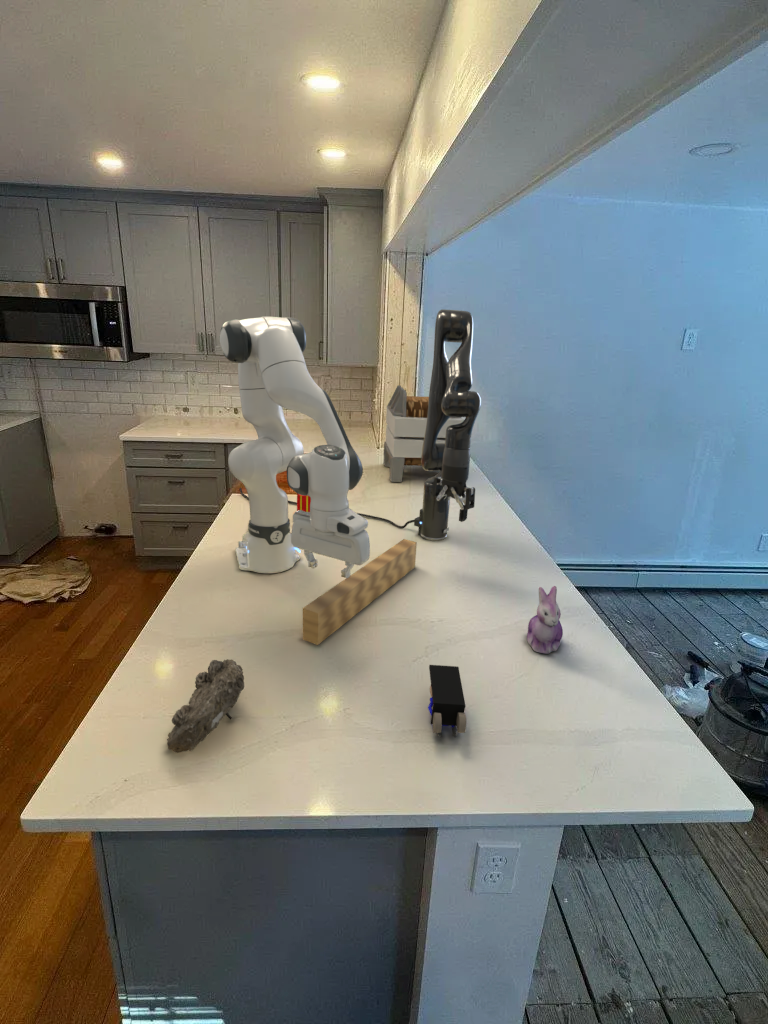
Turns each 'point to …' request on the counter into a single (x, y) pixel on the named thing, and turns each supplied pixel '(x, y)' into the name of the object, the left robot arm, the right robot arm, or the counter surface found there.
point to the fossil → (206, 705)
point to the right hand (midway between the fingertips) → (451, 516)
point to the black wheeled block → (446, 699)
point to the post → (357, 592)
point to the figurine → (545, 624)
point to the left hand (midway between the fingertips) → (329, 571)
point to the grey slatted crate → (407, 431)
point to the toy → (303, 502)
